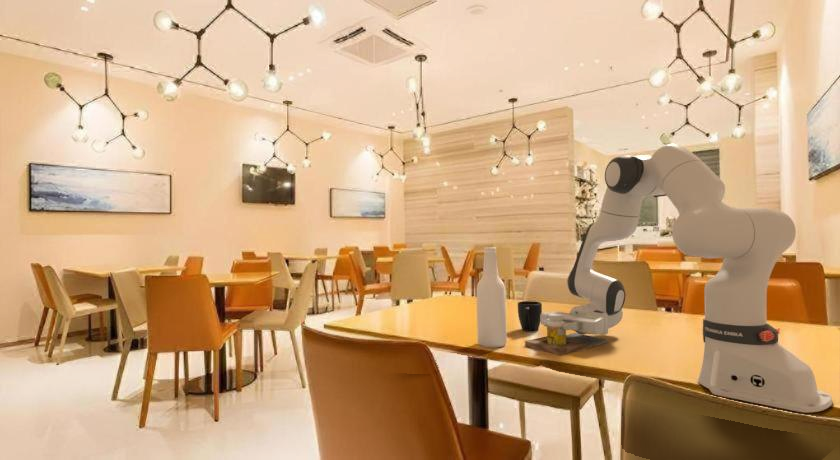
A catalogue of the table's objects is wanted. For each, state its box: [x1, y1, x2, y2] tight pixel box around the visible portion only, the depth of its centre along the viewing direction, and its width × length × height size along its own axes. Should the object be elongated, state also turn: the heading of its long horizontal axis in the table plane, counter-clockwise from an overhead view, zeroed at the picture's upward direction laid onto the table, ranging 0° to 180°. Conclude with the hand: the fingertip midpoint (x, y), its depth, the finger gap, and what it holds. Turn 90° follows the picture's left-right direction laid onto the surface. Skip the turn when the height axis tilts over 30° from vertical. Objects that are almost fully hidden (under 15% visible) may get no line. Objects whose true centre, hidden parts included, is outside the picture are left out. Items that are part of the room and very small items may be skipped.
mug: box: [517, 300, 543, 333], centre depth 157 cm, size 8×12×10 cm
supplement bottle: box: [546, 314, 567, 346], centre depth 135 cm, size 5×5×10 cm
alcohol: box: [476, 246, 508, 349], centre depth 140 cm, size 9×9×30 cm
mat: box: [566, 332, 609, 348], centre depth 142 cm, size 12×9×1 cm
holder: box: [524, 335, 590, 356], centre depth 135 cm, size 13×13×2 cm
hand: (554, 325), depth 135 cm, fingers closed on supplement bottle, 5 cm apart
